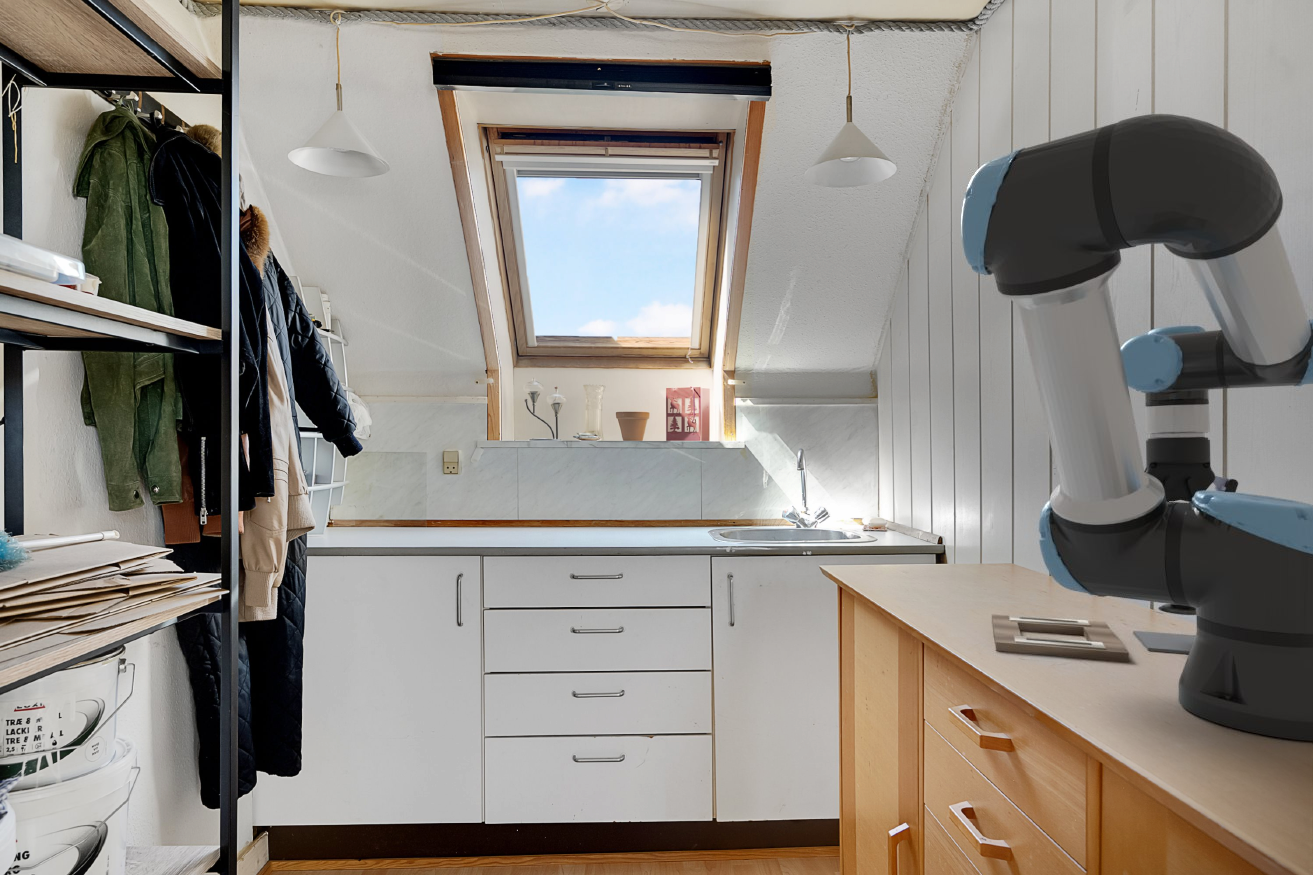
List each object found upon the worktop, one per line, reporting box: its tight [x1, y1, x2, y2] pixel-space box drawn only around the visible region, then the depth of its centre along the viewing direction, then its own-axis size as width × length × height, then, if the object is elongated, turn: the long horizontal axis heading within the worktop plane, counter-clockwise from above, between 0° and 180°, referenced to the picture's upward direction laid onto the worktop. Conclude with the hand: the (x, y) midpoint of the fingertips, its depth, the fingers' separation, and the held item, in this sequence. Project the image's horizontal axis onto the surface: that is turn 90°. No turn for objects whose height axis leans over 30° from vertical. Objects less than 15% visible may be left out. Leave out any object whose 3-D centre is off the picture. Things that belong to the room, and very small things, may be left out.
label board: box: [991, 614, 1130, 663], centre depth 110 cm, size 18×16×2 cm
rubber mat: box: [1132, 630, 1196, 655], centre depth 106 cm, size 10×10×1 cm
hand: (1180, 597), depth 107 cm, fingers closed on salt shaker, 6 cm apart
